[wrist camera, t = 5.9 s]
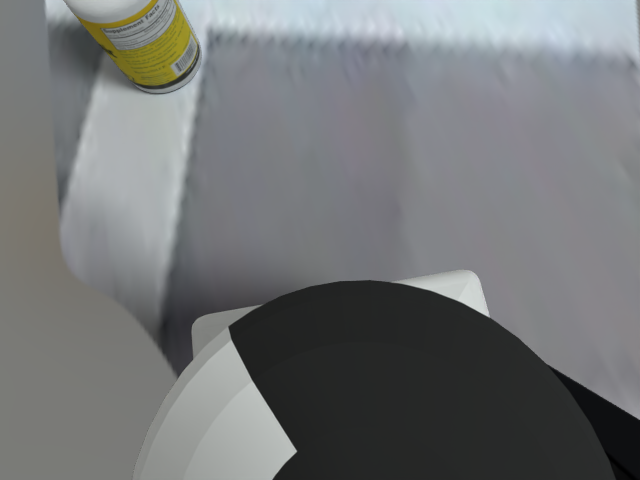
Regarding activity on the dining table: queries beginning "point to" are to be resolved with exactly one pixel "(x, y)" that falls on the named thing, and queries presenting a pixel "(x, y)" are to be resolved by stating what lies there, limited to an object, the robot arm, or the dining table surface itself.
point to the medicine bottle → (368, 393)
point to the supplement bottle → (144, 39)
